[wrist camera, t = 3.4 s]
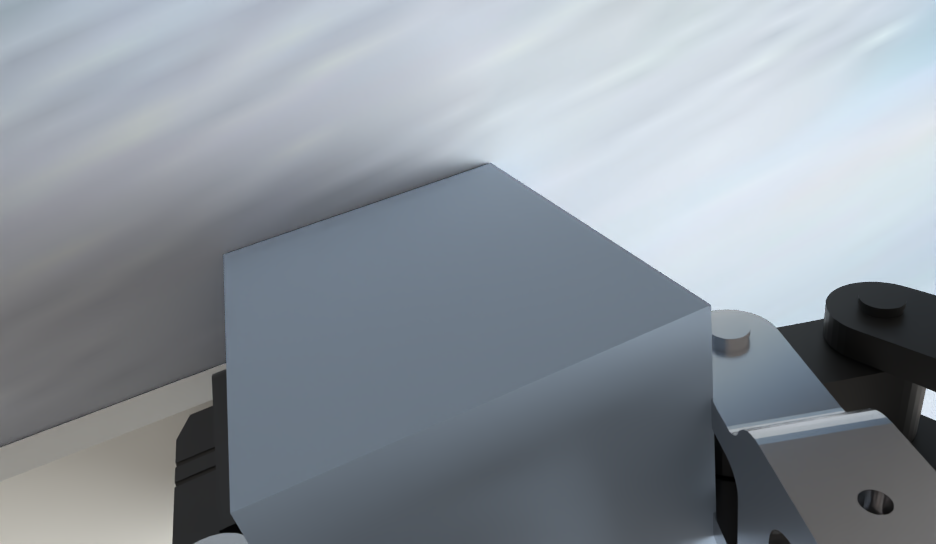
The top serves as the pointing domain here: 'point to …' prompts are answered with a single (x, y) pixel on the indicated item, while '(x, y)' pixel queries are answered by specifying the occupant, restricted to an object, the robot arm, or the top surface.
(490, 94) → the top surface
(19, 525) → the board
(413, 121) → the top surface
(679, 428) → the slate block
